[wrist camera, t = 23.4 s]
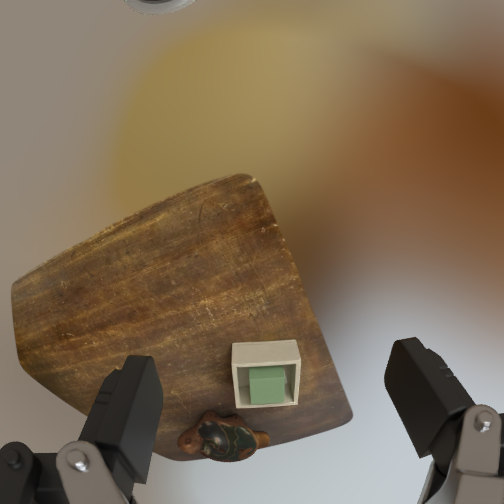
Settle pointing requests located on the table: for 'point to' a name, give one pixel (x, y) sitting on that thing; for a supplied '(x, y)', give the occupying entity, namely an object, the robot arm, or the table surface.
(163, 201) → the table surface
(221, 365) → the table surface
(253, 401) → the green box
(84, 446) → the robot arm
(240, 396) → the open square box
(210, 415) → the decorative turtle
